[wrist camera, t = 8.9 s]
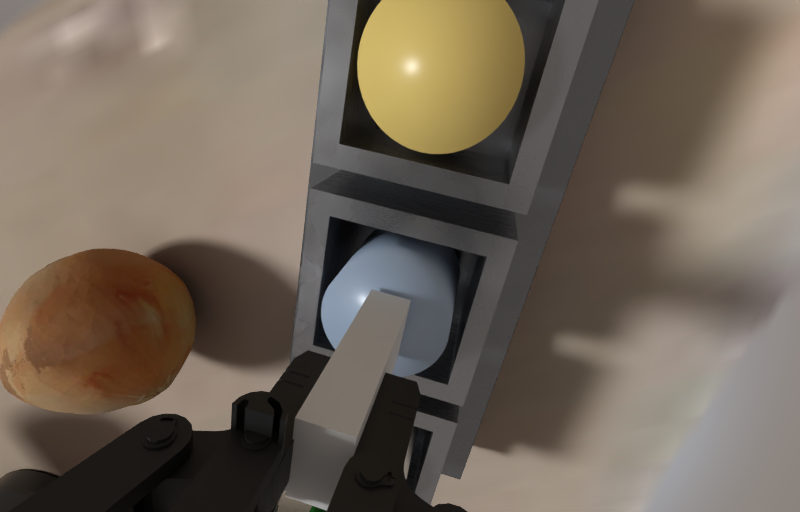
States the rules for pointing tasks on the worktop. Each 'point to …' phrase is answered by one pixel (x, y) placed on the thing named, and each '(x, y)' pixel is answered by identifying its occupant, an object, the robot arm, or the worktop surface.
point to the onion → (96, 333)
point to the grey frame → (454, 203)
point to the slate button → (398, 293)
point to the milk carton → (316, 509)
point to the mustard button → (440, 70)
